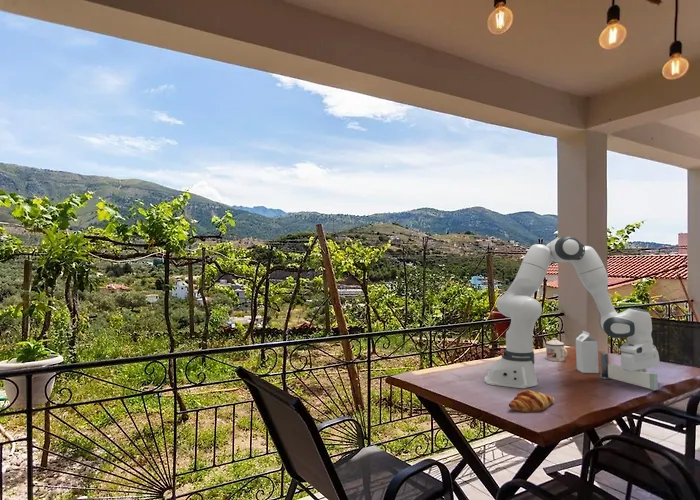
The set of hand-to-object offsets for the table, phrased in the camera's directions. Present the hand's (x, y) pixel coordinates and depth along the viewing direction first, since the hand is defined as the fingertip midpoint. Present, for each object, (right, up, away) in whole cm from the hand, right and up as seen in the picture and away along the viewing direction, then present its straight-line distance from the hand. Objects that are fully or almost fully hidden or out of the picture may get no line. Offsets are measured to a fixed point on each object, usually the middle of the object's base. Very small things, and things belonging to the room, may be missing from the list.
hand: (641, 379), depth 178 cm
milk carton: (-9, -4, +24) cm, 26 cm away
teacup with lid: (-12, -5, +47) cm, 49 cm away
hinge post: (-8, -3, +12) cm, 15 cm away
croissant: (-56, -4, -23) cm, 61 cm away
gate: (-4, -2, +1) cm, 4 cm away
